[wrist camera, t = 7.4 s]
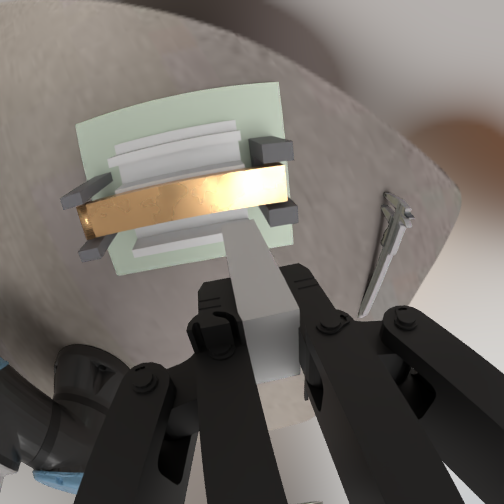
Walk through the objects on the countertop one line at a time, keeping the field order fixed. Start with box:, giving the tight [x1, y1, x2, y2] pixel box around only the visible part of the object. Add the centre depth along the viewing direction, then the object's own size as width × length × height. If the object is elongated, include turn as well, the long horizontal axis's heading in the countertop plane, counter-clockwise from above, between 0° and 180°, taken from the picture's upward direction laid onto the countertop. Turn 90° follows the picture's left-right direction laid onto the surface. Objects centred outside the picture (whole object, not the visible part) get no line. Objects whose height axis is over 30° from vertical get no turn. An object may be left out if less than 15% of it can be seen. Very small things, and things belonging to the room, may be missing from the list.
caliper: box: [358, 193, 415, 318], centre depth 35 cm, size 20×1×6 cm, turn 0°
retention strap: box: [76, 162, 288, 240], centre depth 23 cm, size 18×3×4 cm, turn 97°
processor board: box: [60, 82, 298, 276], centre depth 24 cm, size 21×18×10 cm
